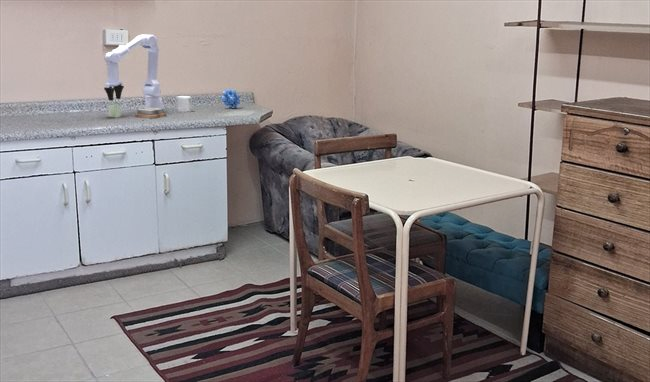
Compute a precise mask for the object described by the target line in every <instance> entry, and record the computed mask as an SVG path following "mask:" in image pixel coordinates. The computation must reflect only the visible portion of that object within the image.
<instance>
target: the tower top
mask: <svg viewBox="0 0 650 382" xmlns="http://www.w3.org/2000/svg"><path fill="white" fill-rule="evenodd" d="M136 111H137V113H136V114H142V115H157V114H163V113H165V110H164V108H163V109H160V108H146V107H145V108H138V109H137V110H136Z"/></svg>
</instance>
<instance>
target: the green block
mask: <svg viewBox="0 0 650 382" xmlns="http://www.w3.org/2000/svg"><path fill="white" fill-rule="evenodd" d="M107 106H108V109H107V110H108V118H120V117H122V112H121V111H122V109H121V105H115V104H112V105H107Z"/></svg>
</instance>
